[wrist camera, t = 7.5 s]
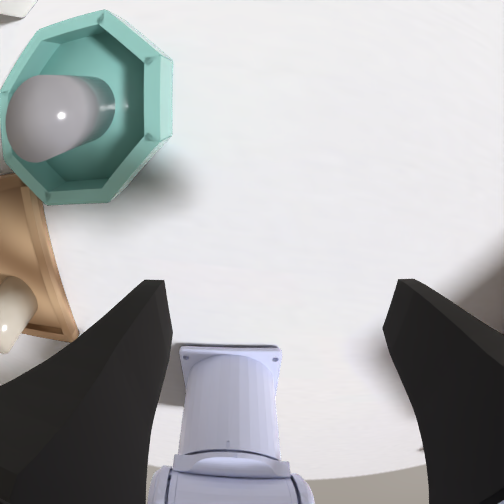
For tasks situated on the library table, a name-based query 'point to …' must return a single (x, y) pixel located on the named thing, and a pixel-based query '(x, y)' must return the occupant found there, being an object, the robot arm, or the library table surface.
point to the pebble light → (14, 310)
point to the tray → (33, 259)
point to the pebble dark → (57, 115)
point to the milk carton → (16, 7)
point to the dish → (126, 106)
